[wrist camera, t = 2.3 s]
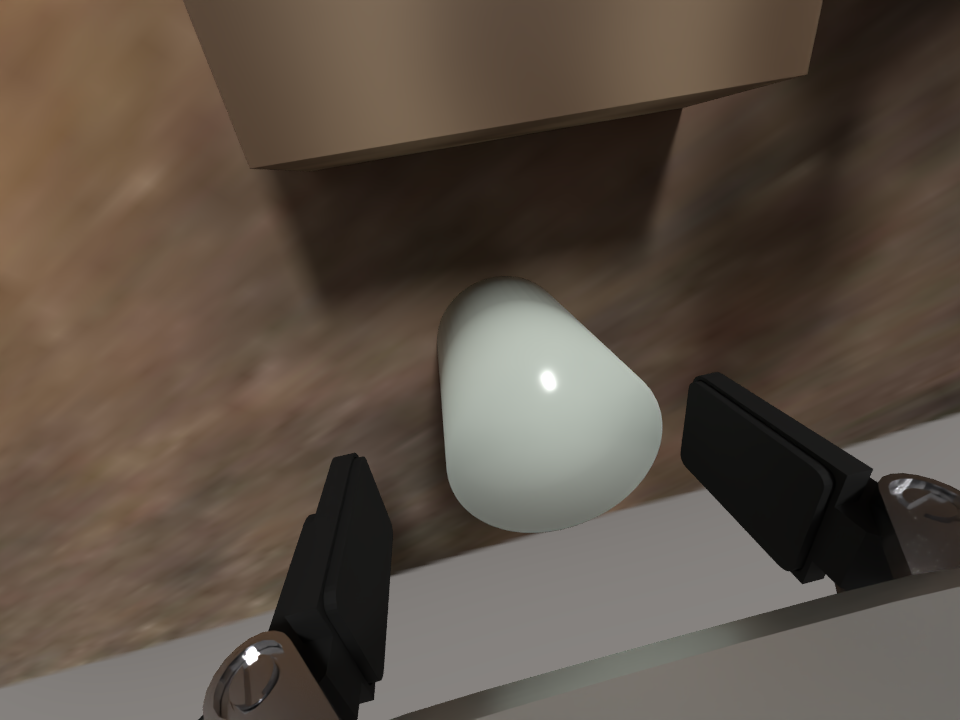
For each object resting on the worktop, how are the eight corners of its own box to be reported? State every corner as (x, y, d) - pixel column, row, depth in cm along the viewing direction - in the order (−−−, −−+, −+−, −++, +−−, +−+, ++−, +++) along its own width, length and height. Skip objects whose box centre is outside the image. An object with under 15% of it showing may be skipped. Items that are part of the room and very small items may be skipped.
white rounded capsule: (560, 264, 16) (671, 335, 9) (566, 382, 19) (654, 508, 11) (423, 290, 16) (423, 386, 8) (450, 406, 18) (467, 551, 11)
